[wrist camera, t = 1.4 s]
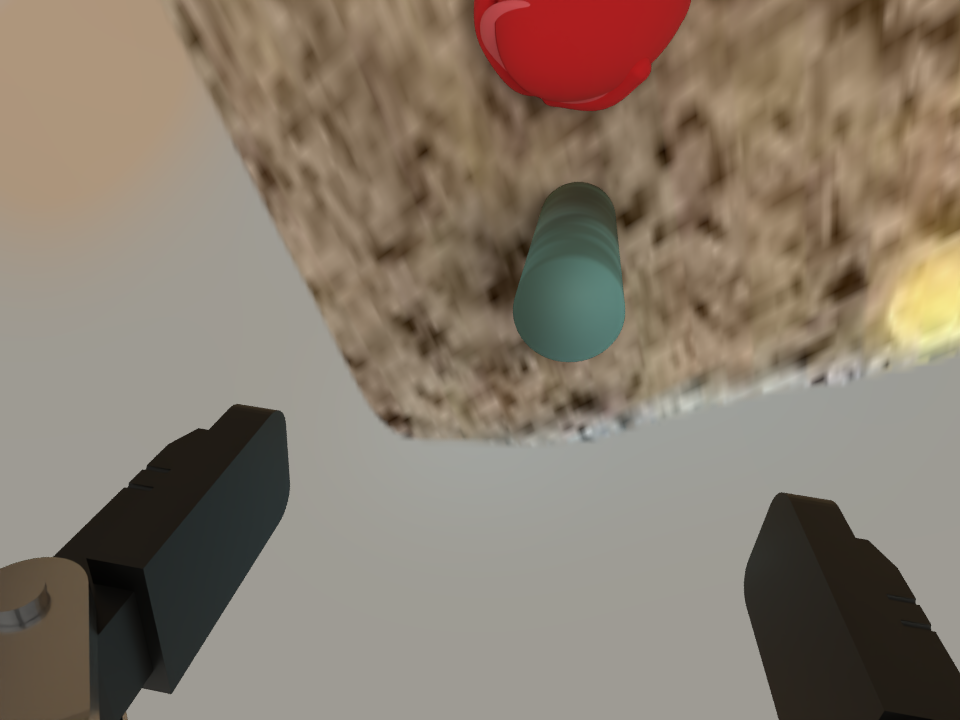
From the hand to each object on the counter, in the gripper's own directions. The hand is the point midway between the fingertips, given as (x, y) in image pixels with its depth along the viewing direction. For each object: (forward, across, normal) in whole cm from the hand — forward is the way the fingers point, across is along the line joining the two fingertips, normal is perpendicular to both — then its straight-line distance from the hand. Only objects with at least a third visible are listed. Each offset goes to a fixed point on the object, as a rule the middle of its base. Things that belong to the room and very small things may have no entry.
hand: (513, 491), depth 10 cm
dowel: (+19, -1, 0) cm, 19 cm away
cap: (+19, 0, -8) cm, 20 cm away
